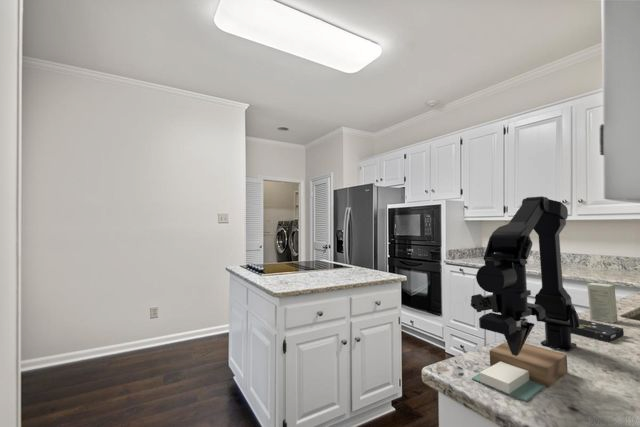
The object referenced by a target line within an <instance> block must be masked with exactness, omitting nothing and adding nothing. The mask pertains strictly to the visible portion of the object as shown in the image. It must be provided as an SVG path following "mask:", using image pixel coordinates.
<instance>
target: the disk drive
mask: <svg viewBox="0 0 640 427" xmlns="http://www.w3.org/2000/svg"><path fill="white" fill-rule="evenodd" d="M579 326H580V327H579V328H571V335H572V334H573V335H577V336H580V337H584V338H589V339H593V340H595V341H601V342H604V343H608V344H609V343H612V342H613V341H616V340H618V339H621V338H622V337H624V335H625V333H624V331H625V330H624V328H622V327H619V326H612V325H610V324H605V323H604V324H603V323H599V322H595V321H591V320H585V319H581V318H579Z"/></svg>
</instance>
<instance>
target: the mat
mask: <svg viewBox="0 0 640 427" xmlns="http://www.w3.org/2000/svg"><path fill="white" fill-rule="evenodd" d="M471 380H472V381H475V382H477V383H479V384H482V385H484V386H487V387H490V388H492V389H494V390H497V391H500V392H501V393H504V394H506V395H509V396H511V397H514V398H516V399H518V400H521V401H522V402H523V401H524V402H526V403H527V402H528V401H530V399H532V398H533V397H535V396H536V395H537V394H538V393H540V392H541V391H542V390H543V389H545V388H546V387H545V385H543V384H540V383H537V382H534V381H532V380H529V381H527V382H526V383H524V384H523V385H521V386H520V387H518V388H517V389H515V390H514V391H512V392H511V393H506V392H504V391H501V390H499V389H497V388H494V387H492V386H489V385H487V384H485V383H482V382H480V373H478V374H477V375H476V374H475V375H474V376H473V377H472V378H471Z"/></svg>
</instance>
